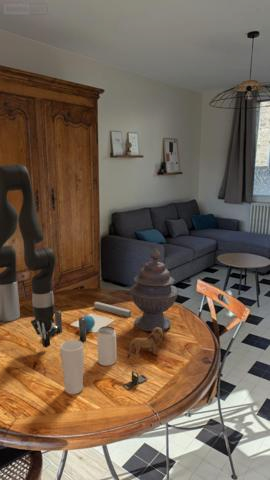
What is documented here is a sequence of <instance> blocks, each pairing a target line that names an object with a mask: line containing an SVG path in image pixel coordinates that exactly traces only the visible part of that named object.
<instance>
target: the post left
mask: <svg viewBox="0 0 270 480" xmlns="http://www.w3.org/2000/svg"><path fill="white" fill-rule="evenodd" d="M54 311H55V313H54V324H55V325H56V326H57V325H58V326H59V329H58V330H57V332H56V333H55V334H62V333H63V319H62V310H60V309H59V310H54Z"/></svg>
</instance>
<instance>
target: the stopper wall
mask: <svg viewBox="0 0 270 480" xmlns="http://www.w3.org/2000/svg"><path fill="white" fill-rule="evenodd" d="M93 307H94V309H98V310H101V311H104V312H109V313H113V314H116V315H120V316H122V317H127V318H130V317H131V316H132V310H130V309H127V308H123V307H118V306H116V305H111V304H107V303H103V302H99V301H95V302H93Z"/></svg>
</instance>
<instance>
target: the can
mask: <svg viewBox="0 0 270 480" xmlns="http://www.w3.org/2000/svg"><path fill="white" fill-rule="evenodd" d="M115 330H116V329H115V328H114V327H113V326H109V325H107V326H104V327H101V328H99V330H98V332H97V337H96V338H97V339H96V341H97V362H98V364H100V365H101V366H104V367H110V366H113V365H115V363H116V362H117V334H116V331H115Z"/></svg>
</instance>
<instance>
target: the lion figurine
mask: <svg viewBox="0 0 270 480" xmlns="http://www.w3.org/2000/svg"><path fill="white" fill-rule="evenodd" d="M163 335H164V331H162V328H159V327H156V328H154V329H153V332H151V333H150V335H149V336H146V337H134V338H133V339H132V340H131V342H130V344H129V350H128V354H127V355H126V358H130V356H132V355H133V352H132V351H133V350H134V349H135V354H136V356H137V357H138V358H139V359H141V358H142V357H143V356H142V355H141V354H140V350H141V348H144V349H145V348H146V349H147V348H149V352H152V354H154V355H158V352H157V346H158V345H160V344H161V342H162V339H163Z"/></svg>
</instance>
